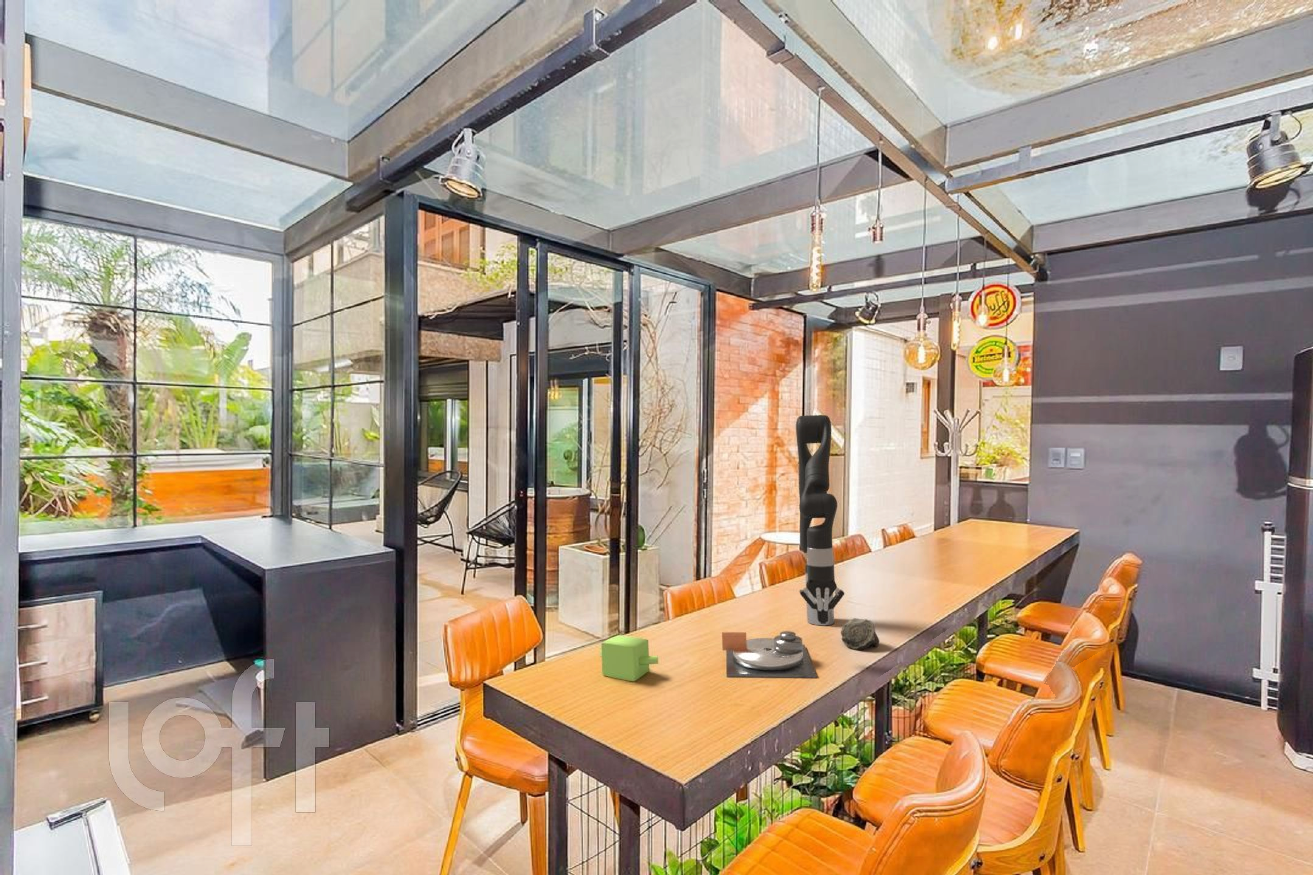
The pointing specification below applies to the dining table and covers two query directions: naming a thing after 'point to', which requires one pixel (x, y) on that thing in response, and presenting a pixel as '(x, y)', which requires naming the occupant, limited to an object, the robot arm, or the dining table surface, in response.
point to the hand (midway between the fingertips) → (822, 623)
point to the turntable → (758, 652)
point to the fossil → (859, 634)
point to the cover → (788, 643)
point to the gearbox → (626, 657)
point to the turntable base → (798, 671)
